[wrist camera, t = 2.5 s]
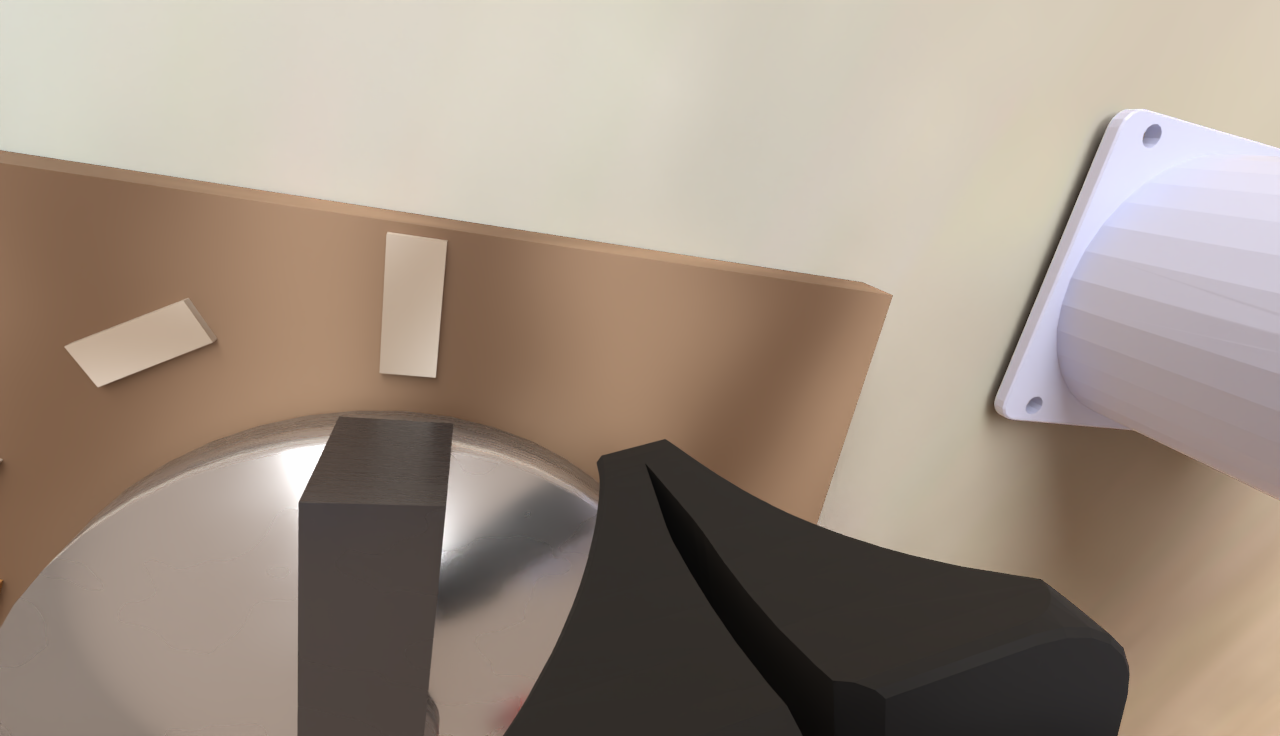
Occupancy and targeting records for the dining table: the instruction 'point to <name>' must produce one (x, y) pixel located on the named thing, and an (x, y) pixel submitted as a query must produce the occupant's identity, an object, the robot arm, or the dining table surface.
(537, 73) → the dining table surface
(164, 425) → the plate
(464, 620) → the dial
